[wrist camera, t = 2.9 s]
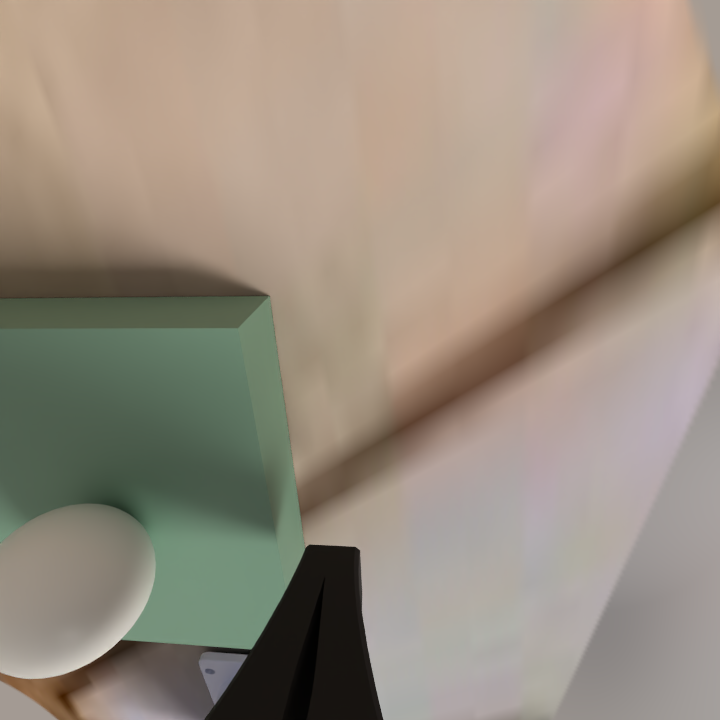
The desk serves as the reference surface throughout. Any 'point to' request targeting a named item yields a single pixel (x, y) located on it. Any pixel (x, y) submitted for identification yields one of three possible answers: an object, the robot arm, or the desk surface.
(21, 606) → the ball
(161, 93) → the desk surface
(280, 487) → the putting board
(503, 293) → the desk surface
